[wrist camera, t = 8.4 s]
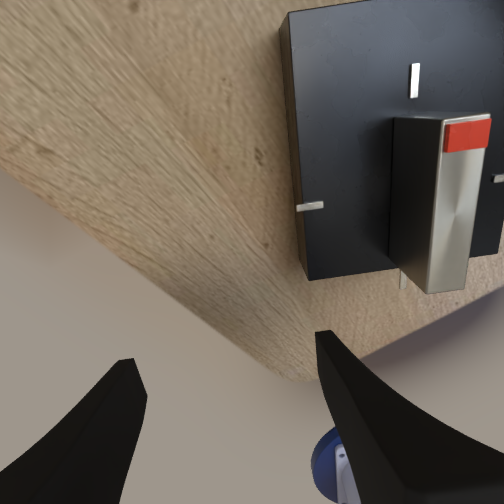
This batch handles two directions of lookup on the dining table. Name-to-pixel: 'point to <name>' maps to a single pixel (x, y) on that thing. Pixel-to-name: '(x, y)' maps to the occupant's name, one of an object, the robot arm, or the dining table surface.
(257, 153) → the dining table surface
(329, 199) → the switch base
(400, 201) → the red-topped metal block
